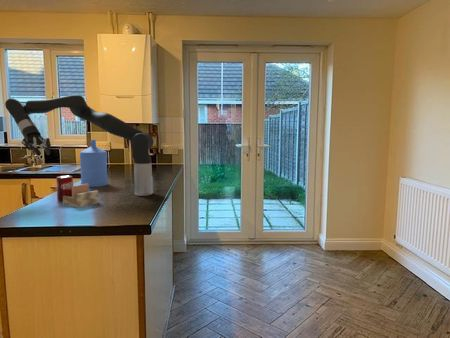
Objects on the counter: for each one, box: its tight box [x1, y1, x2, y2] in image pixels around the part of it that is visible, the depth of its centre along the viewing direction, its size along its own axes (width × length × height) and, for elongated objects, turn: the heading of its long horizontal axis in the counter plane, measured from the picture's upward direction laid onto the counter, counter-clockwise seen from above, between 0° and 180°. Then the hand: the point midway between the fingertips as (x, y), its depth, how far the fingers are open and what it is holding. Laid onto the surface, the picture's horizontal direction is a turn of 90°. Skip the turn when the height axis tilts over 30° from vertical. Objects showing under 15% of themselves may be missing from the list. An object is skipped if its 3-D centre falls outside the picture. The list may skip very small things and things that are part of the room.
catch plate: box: [72, 184, 90, 198], centre depth 155 cm, size 8×1×9 cm, turn 151°
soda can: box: [55, 175, 74, 203], centre depth 161 cm, size 7×7×12 cm
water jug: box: [79, 139, 109, 188], centre depth 202 cm, size 16×16×28 cm
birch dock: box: [62, 189, 100, 208], centre depth 156 cm, size 11×11×6 cm
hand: (44, 154), depth 166 cm, fingers open, 4 cm apart
